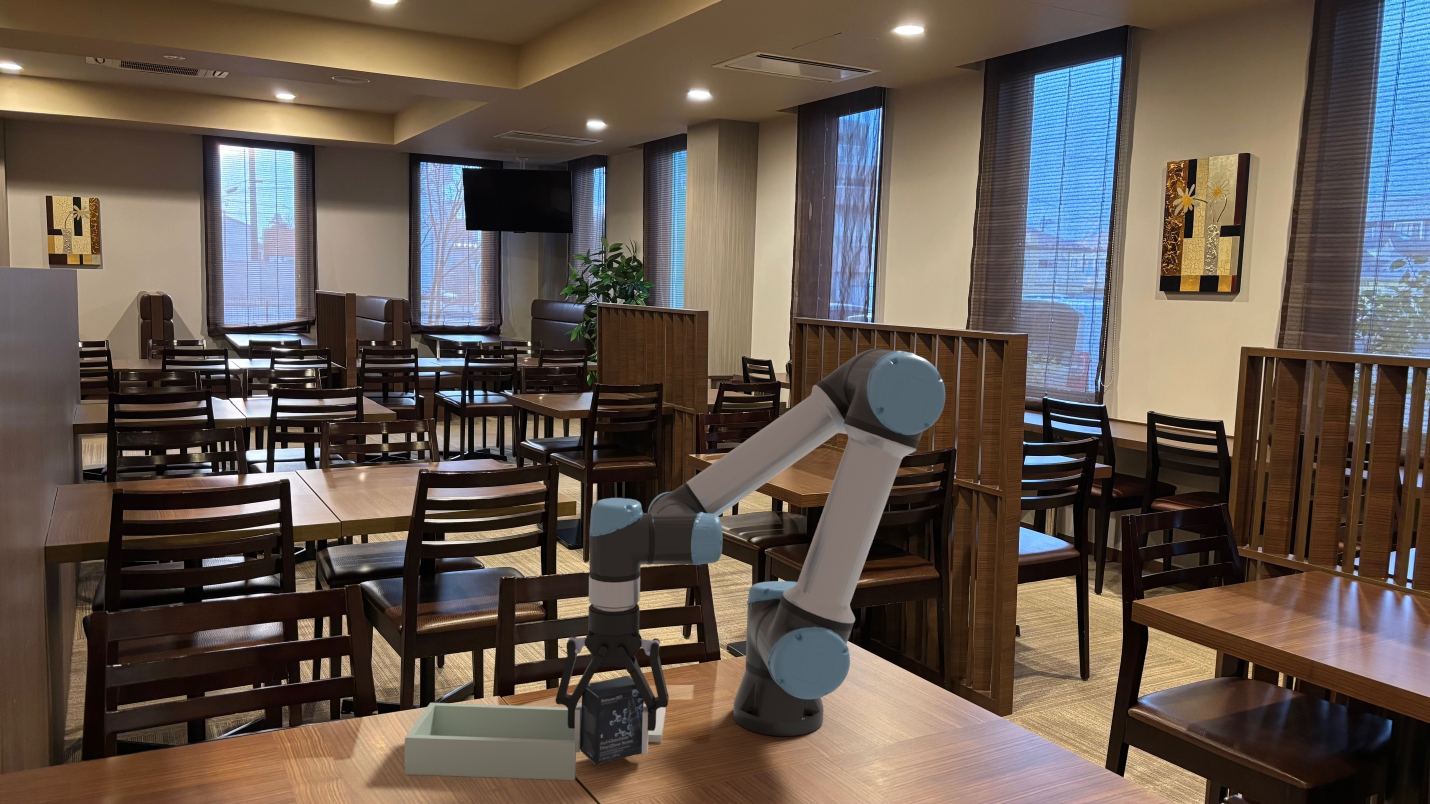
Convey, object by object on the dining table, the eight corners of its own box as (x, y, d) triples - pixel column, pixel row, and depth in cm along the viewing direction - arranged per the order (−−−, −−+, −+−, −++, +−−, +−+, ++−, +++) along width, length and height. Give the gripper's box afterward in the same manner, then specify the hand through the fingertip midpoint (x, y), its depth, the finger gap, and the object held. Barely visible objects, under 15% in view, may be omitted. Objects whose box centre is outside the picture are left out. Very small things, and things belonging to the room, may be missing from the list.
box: (596, 766, 144) (597, 696, 143) (579, 751, 149) (580, 683, 148) (643, 754, 148) (645, 686, 147) (625, 740, 153) (627, 674, 152)
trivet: (665, 711, 167) (665, 704, 167) (661, 742, 155) (661, 735, 155) (594, 708, 167) (595, 701, 167) (585, 739, 155) (585, 732, 155)
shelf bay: (586, 741, 155) (587, 708, 154) (574, 780, 142) (575, 743, 142) (430, 736, 155) (430, 702, 154) (404, 774, 142) (404, 737, 142)
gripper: (689, 598, 150) (685, 740, 152) (544, 594, 150) (542, 736, 152) (687, 613, 142) (683, 762, 145) (535, 609, 142) (533, 758, 145)
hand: (611, 749), depth 148 cm, fingers closed on box, 9 cm apart
